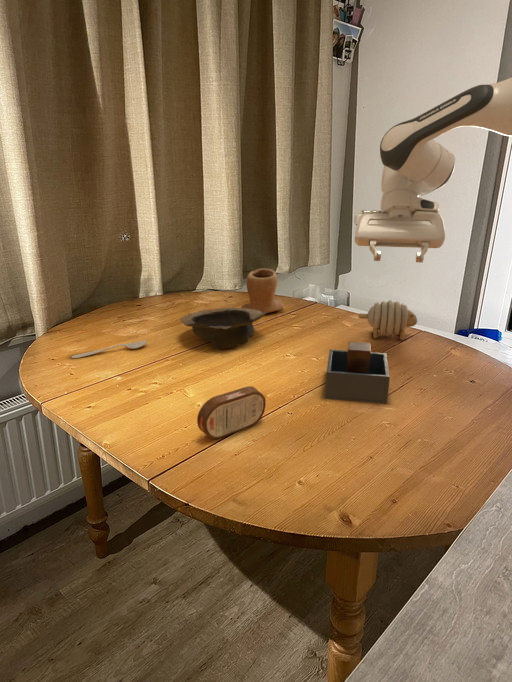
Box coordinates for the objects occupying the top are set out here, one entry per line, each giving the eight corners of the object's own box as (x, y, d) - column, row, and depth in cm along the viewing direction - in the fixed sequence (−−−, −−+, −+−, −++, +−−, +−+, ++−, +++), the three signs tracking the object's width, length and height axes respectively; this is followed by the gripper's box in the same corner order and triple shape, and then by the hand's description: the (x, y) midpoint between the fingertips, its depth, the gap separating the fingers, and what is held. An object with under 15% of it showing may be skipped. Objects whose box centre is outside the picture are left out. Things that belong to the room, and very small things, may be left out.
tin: (259, 416, 106) (259, 380, 102) (268, 422, 103) (268, 385, 100) (197, 439, 97) (195, 400, 94) (205, 446, 95) (203, 407, 92)
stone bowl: (243, 359, 133) (240, 326, 130) (166, 351, 143) (161, 320, 140) (279, 329, 154) (277, 300, 151) (208, 324, 164) (205, 296, 161)
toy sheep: (418, 343, 144) (422, 307, 140) (359, 341, 146) (362, 305, 142) (411, 331, 154) (415, 296, 150) (356, 329, 156) (358, 295, 152)
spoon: (149, 348, 141) (148, 343, 140) (72, 360, 133) (71, 354, 132) (146, 343, 144) (145, 338, 144) (70, 355, 137) (70, 349, 136)
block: (366, 381, 120) (370, 343, 116) (367, 391, 115) (370, 351, 111) (345, 380, 120) (348, 341, 117) (345, 389, 116) (348, 349, 112)
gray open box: (383, 377, 123) (386, 353, 121) (386, 403, 111) (389, 376, 108) (328, 373, 125) (329, 349, 123) (325, 398, 113) (326, 372, 111)
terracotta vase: (252, 320, 164) (252, 275, 158) (237, 310, 174) (236, 268, 168) (292, 314, 170) (293, 270, 165) (275, 304, 180) (276, 263, 175)
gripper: (355, 202, 119) (352, 250, 113) (446, 203, 115) (447, 254, 110) (354, 218, 124) (351, 266, 119) (440, 220, 121) (441, 269, 115)
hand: (398, 260), depth 114 cm, fingers open, 8 cm apart
